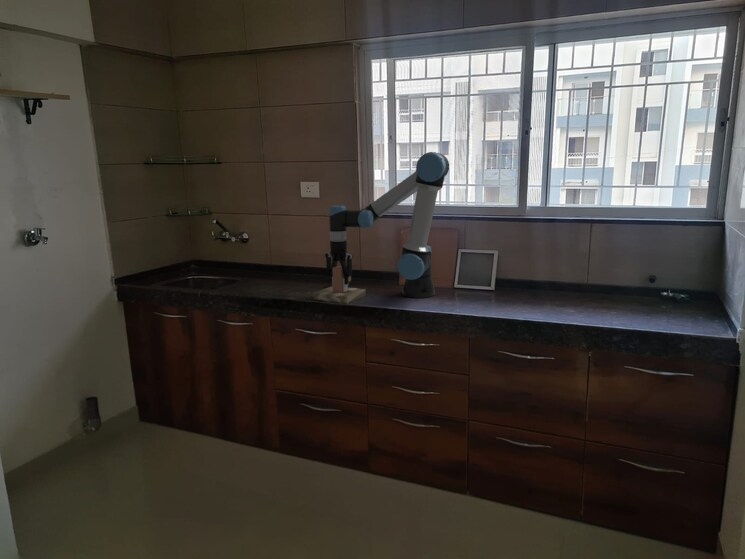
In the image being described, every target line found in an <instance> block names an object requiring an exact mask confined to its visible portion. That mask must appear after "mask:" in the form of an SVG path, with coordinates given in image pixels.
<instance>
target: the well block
mask: <svg viewBox="0 0 745 559" xmlns="http://www.w3.org/2000/svg"><path fill="white" fill-rule="evenodd" d="M366 291H367V290H366V289H365V288H364V289H363V288H358V287H357V288H356V287H349V286H348V287H347V294H344V293H336V292H333V291H332V286H329V287H326V288H323V289H321V290H318V291H314V292H313V300H318V301H325V302H332V303H333V302H334V303H339V304H340V303H341V304H349V302H350V303H352V302H354V301H357V300H358V299H361V298H363V297H366V295H367V294H366V293H367V292H366ZM351 301H352V302H351Z"/></svg>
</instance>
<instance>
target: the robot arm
mask: <svg viewBox="0 0 745 559" xmlns="http://www.w3.org/2000/svg"><path fill="white" fill-rule="evenodd" d="M449 170H450V162H449V160H448V158H447V157H446V155H444V154H442V153H441V152H440V153H439V152H437V151H436V152H435V151H429V152H426V153H424V154H422V155H421V156H420V157H419V158H418V160H417V162H416V165H415V171H414V172H413V173H412V174H410V175H409V176H407V177H406V178H405V179H403V180H402V181H400V182H399V183H397V185H394V187H392V188H391V189H390V190H388V191H387V192H385V193H384V194H382V195H380V197H378V198H377V199H376V200H374V201H372V202H371V203H370V204H369V205H367V206H365V207H364V208H362V209H357V210H356V209H355V210H353V209H352V210H351V209H350V210H349V209H347V208H346V205H331V206H329V209H328V211H329V212H328V214H329V215H328V220H329V224H328V225H329V240H330V242H329V248H330V252H326V253H325V254H324V255H325V259H326V260H325V261H326V262H325V263H326V275H328V276H330V283H331V285H332V291H333V267H336V266H338V262H339V263H340V266H341V267H342V271H343V275H344V277H343V278H342V282H343V292H345V291H347V284H348V283H350V282H349V281H348V277H349V276H350V277H352V276H353V257H354V256H353V254H349V253H348V251H347V249H348V243H347V242H348V241H347V239H348V238H347V228H363V229H365V228H371V227H372V226H373V224H374V223H375V222H376V221H377V220H378V219H380V218H381V217H382V216H383V215H385V214H386V213H388V212H390V211H391V210H392V209H394V208H395V207H396V206H399V204H401V203H402V202H404V201H405V200H406V199H408V198H410V197H411V196H412V195H414V194H416V195H415V200H414V205H413V211H412V216H411V220H410V226H409V230H408V231H409V232H408V235H407V240H406V242H405V243H404V244H403V245H402V248H401V252H400V253H401V254H400V257H399V258H398V260H397V264H396V268H397V271H398V274H400V276H402V277H403V279H405V281H404V284H403V287H402V296H404V297H406V298H414V299H415V298H416V299H419V298H420V299H423V298H430V297H433V296H435V295H436V290H435V287H434V282H433V280H432V253H433V252H432V247H431V246H430V245H428V242H429V241H428V240H429V236H430V230H431V226H432V221H433V217H434V211H435V206H436V201H437V199H438V198H437V197H438V192H439V191H440V190H441V189H443V186H444V181H445V177H446V176H447V174H449ZM348 285H349V284H348Z"/></svg>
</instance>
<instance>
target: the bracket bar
mask: <svg viewBox="0 0 745 559" xmlns="http://www.w3.org/2000/svg"><path fill="white" fill-rule="evenodd" d="M343 277H344V275H343V271H342V267H341V265H337V266H336V267H333V292H336V293H344V294H347V291H345V292H343V282H342V278H343Z"/></svg>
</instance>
